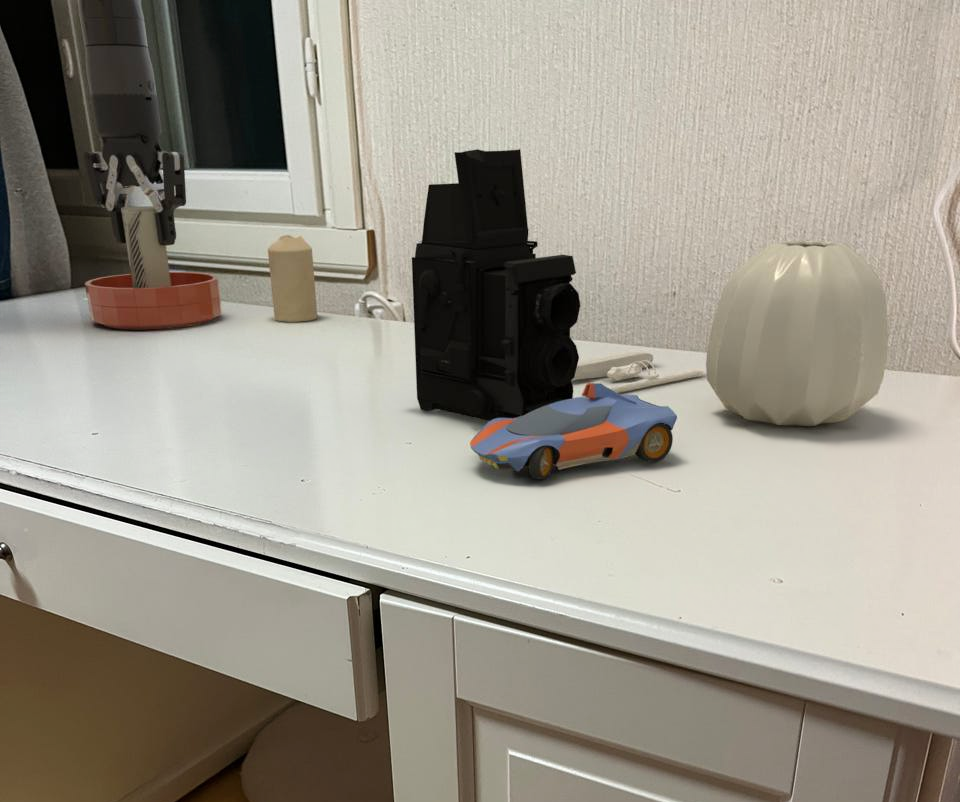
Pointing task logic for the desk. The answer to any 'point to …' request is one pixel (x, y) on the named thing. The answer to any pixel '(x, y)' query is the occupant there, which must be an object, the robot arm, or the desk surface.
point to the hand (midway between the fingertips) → (146, 243)
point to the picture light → (635, 370)
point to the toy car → (578, 433)
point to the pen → (610, 364)
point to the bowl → (154, 302)
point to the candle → (292, 279)
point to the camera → (489, 298)
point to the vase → (799, 335)
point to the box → (145, 248)
